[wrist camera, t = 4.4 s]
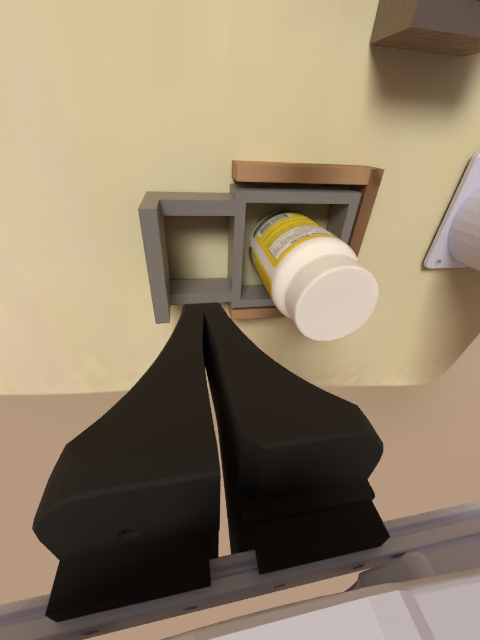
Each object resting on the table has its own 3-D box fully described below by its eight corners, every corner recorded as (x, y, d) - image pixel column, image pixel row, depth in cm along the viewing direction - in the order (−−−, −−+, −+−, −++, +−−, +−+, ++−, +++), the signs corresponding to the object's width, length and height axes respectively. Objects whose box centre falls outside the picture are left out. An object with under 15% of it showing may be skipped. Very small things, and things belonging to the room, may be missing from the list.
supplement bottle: (297, 280, 21) (353, 354, 14) (239, 268, 20) (270, 343, 13) (325, 217, 19) (408, 270, 12) (261, 198, 17) (314, 246, 10)
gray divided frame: (345, 186, 17) (382, 200, 14) (319, 289, 22) (344, 318, 18) (145, 182, 15) (136, 196, 12) (160, 296, 20) (156, 330, 16)
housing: (367, 165, 17) (384, 169, 16) (329, 301, 23) (340, 313, 21) (232, 160, 16) (237, 164, 14) (227, 306, 21) (231, 320, 20)
